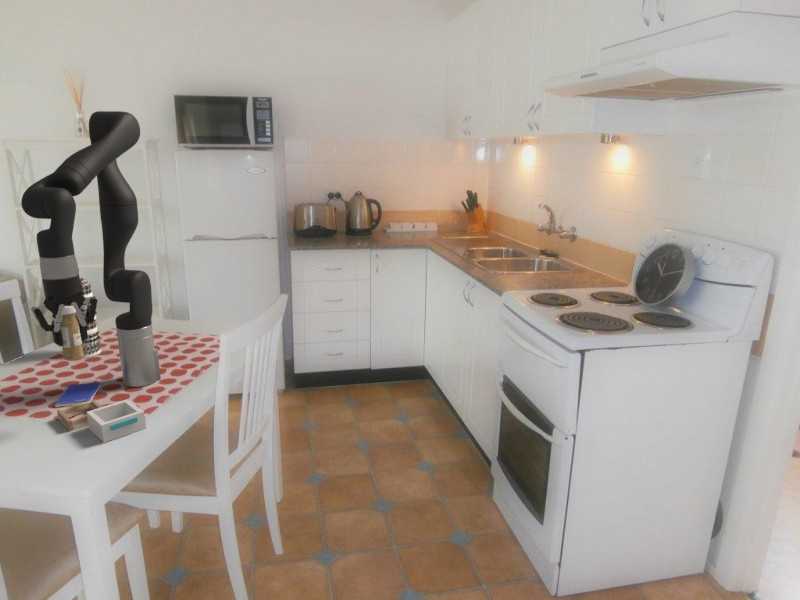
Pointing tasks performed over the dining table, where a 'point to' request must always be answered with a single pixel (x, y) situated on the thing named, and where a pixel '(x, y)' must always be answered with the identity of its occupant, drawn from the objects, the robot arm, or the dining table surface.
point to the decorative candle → (89, 325)
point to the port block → (116, 420)
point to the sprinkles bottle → (71, 334)
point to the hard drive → (78, 394)
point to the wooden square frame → (75, 410)
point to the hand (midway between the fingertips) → (71, 342)
